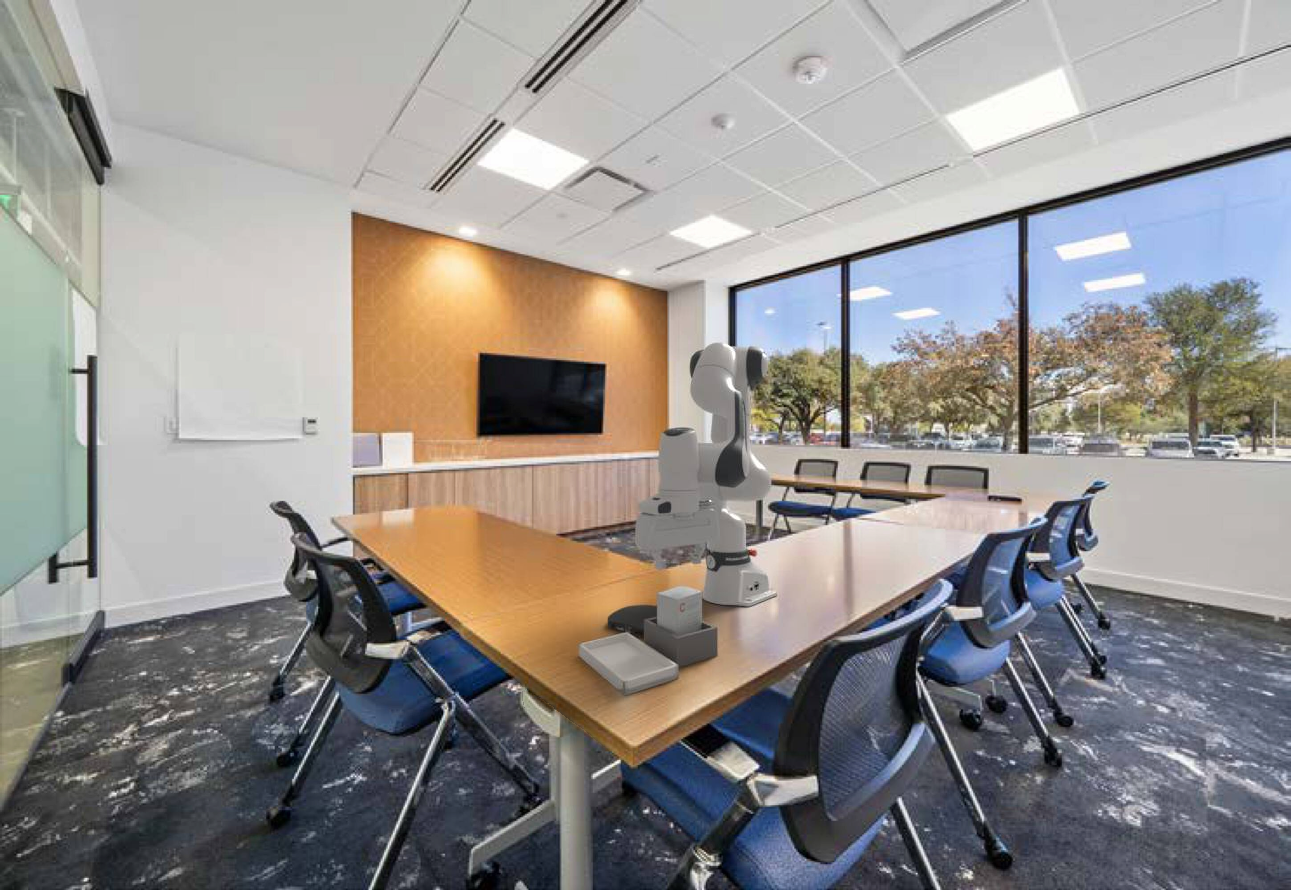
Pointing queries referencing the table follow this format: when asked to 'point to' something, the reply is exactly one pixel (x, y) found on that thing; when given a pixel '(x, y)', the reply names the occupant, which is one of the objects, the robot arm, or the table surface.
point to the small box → (680, 610)
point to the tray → (628, 663)
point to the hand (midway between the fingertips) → (678, 566)
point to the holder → (682, 643)
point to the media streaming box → (631, 619)
